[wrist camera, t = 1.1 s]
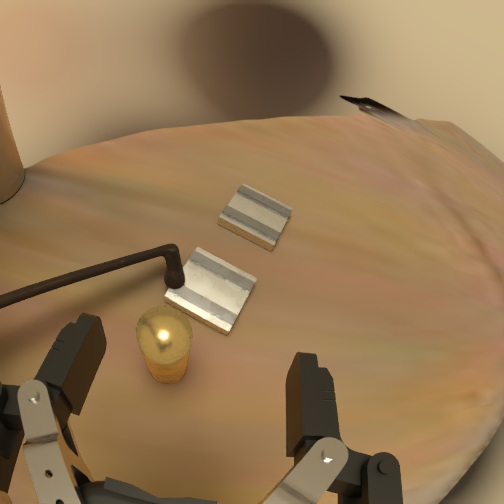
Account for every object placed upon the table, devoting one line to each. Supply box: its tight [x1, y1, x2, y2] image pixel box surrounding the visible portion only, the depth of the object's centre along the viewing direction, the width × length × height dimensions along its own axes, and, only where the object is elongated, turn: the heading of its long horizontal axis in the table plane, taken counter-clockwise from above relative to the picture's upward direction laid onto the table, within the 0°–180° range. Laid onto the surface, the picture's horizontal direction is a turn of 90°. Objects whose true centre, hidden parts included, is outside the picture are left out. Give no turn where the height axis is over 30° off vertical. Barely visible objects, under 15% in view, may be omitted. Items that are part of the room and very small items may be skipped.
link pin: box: [136, 306, 192, 384], centre depth 26 cm, size 4×4×12 cm
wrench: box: [0, 244, 185, 309], centre depth 25 cm, size 5×5×30 cm
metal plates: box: [164, 183, 293, 336], centre depth 39 cm, size 8×20×2 cm, turn 155°
